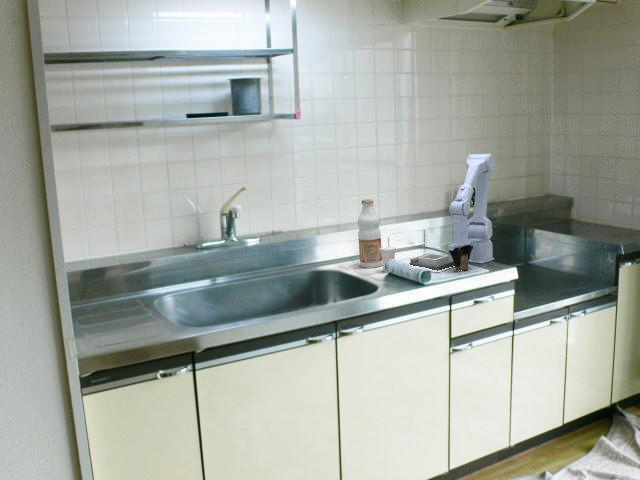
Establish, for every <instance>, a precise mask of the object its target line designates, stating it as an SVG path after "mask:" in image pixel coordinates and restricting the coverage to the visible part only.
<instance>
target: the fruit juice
mask: <svg viewBox="0 0 640 480" xmlns="http://www.w3.org/2000/svg"><path fill="white" fill-rule="evenodd" d="M361 205H362V208H361V213H360V214H359V217H358V219H357V226H358V228H359V230H358V235H357V236H358V238H357V239H358V251H359V252H358V253H359V263H360V264H359V265H360V266H359V267H360V268H363V267H364V268H365V269H374V268H375V269H376V268H380V267H382V265H383V261H382V255H381V251H380V248H381V247H382V235H381V230H380V227H379V226H380V221H381V220H380V217H379V216H378V214H377V213H376V211H375V208H374V199H363V200H361Z"/></svg>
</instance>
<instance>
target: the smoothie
mask: <svg viewBox="0 0 640 480" xmlns="http://www.w3.org/2000/svg"><path fill="white" fill-rule="evenodd" d="M396 249H397V248H396V247H395V246H390V236H388V237H387V246H381V248H380V251H381V255H382V265H383V267H384V264H385V262H386V261H387V260H389V259H394V260H395V258H396V257H395V256H396ZM383 271H384V272H385V273H388V272H387V271H385V269H384V268H383Z"/></svg>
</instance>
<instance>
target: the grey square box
mask: <svg viewBox="0 0 640 480" xmlns="http://www.w3.org/2000/svg"><path fill="white" fill-rule="evenodd" d="M409 261H410V262H409V263H408V265H409V264H410V265H413V266H419V267H425V268H429V269H432V270H437V271H438V270H442V269H445V268H449V267H453V266H455V265H454V262H453V258H450V256H449V254H448V255H446V254H437V253H431V252H430V253H425V254H422V255H420V256H417V257H413V258H410V259H409ZM453 268H454V267H453Z"/></svg>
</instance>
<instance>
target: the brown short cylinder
mask: <svg viewBox="0 0 640 480" xmlns="http://www.w3.org/2000/svg"><path fill="white" fill-rule="evenodd" d="M455 269H456V270H460V271H459V272H464V271H463V270H467V271H469V262H468V255H467V254H464V253H462V255H461V265H460V267H456V266H455V267H454V270H455ZM456 270H455V271H456ZM461 270H462V271H461Z"/></svg>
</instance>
